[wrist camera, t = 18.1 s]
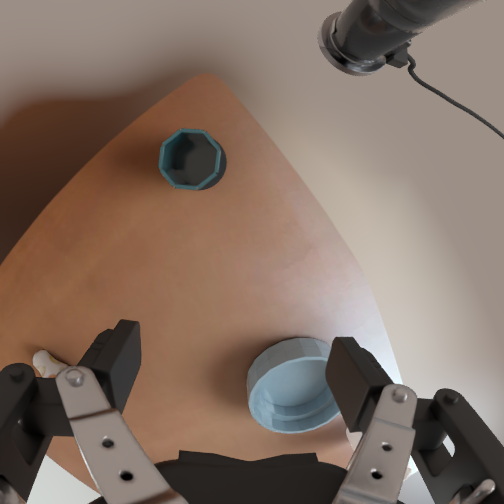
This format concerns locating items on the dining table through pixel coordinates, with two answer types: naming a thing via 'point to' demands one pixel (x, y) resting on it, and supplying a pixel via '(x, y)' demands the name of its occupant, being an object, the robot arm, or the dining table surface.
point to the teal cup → (190, 159)
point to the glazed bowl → (291, 387)
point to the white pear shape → (47, 364)
